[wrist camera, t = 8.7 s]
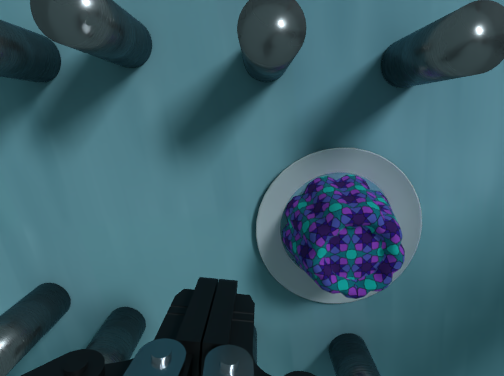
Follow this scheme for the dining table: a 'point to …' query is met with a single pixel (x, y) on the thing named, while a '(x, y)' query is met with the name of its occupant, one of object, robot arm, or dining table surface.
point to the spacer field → (259, 67)
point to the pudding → (339, 226)
